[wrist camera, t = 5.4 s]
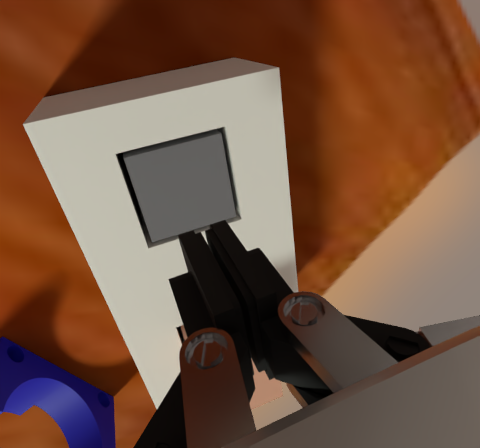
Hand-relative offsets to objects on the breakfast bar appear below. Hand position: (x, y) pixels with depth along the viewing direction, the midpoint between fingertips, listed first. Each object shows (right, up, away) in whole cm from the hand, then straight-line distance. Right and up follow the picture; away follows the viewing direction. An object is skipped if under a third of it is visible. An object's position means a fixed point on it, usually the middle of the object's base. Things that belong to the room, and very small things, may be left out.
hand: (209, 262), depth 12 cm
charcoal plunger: (-4, +6, +12) cm, 14 cm away
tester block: (-3, +1, +16) cm, 16 cm away
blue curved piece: (-16, -12, +19) cm, 27 cm away
